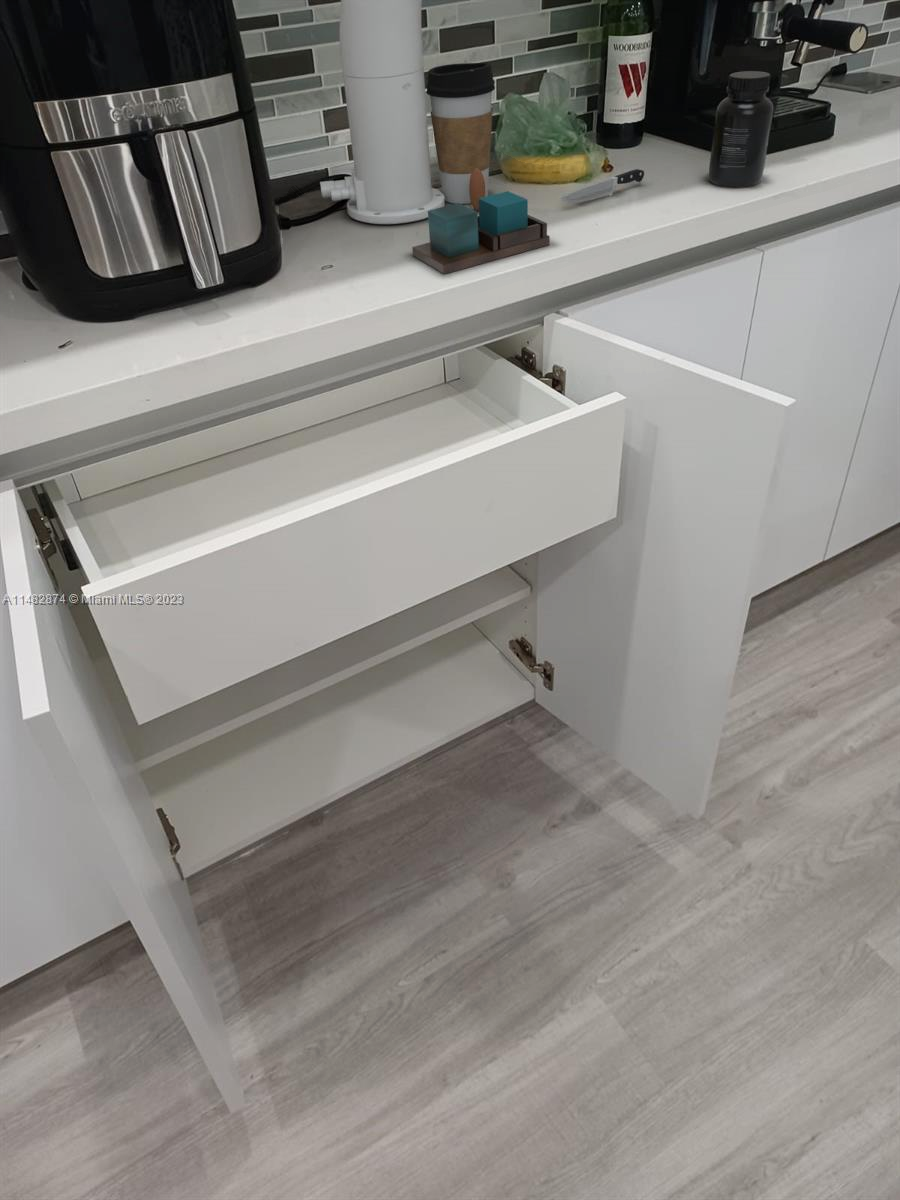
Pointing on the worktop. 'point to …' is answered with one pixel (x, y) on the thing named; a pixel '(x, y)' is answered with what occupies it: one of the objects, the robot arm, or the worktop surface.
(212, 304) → the worktop surface
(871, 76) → the worktop surface
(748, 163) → the supplement bottle
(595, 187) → the knife
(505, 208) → the teal cube
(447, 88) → the coffee cup
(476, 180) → the orange ellipsoid
